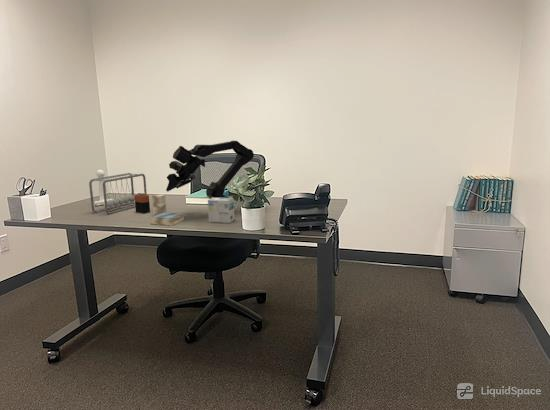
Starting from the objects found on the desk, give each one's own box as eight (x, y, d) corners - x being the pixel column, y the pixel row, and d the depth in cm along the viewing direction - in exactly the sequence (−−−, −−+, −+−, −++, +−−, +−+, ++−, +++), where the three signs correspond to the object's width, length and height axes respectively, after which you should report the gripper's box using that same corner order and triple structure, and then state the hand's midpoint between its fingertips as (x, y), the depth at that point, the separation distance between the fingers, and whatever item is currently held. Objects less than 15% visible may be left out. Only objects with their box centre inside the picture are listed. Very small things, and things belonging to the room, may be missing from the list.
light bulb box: (234, 219, 194) (234, 197, 192) (230, 223, 187) (229, 200, 185) (213, 218, 196) (212, 196, 194) (208, 222, 190) (207, 199, 188)
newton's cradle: (133, 202, 238) (131, 172, 234) (147, 204, 234) (145, 173, 230) (91, 213, 211) (88, 179, 207) (106, 215, 207) (103, 180, 203)
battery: (143, 213, 209) (141, 194, 207) (135, 212, 213) (133, 193, 211) (150, 212, 213) (149, 193, 211) (142, 210, 217) (140, 192, 214)
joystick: (110, 202, 240) (106, 168, 236) (117, 203, 236) (114, 169, 232) (92, 205, 231) (88, 170, 227) (99, 207, 227) (96, 171, 223)
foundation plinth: (183, 220, 195) (183, 213, 194) (171, 225, 184) (171, 218, 184) (163, 218, 198) (163, 212, 197) (150, 224, 187) (149, 217, 187)
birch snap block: (166, 213, 208) (165, 194, 206) (161, 215, 204) (160, 196, 202) (158, 213, 209) (157, 194, 207) (153, 215, 205) (152, 195, 203)
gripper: (188, 153, 206) (170, 175, 211) (169, 157, 188) (149, 180, 193) (203, 169, 205) (185, 190, 210) (185, 174, 187) (165, 197, 193)
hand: (171, 189), depth 202 cm, fingers open, 9 cm apart
